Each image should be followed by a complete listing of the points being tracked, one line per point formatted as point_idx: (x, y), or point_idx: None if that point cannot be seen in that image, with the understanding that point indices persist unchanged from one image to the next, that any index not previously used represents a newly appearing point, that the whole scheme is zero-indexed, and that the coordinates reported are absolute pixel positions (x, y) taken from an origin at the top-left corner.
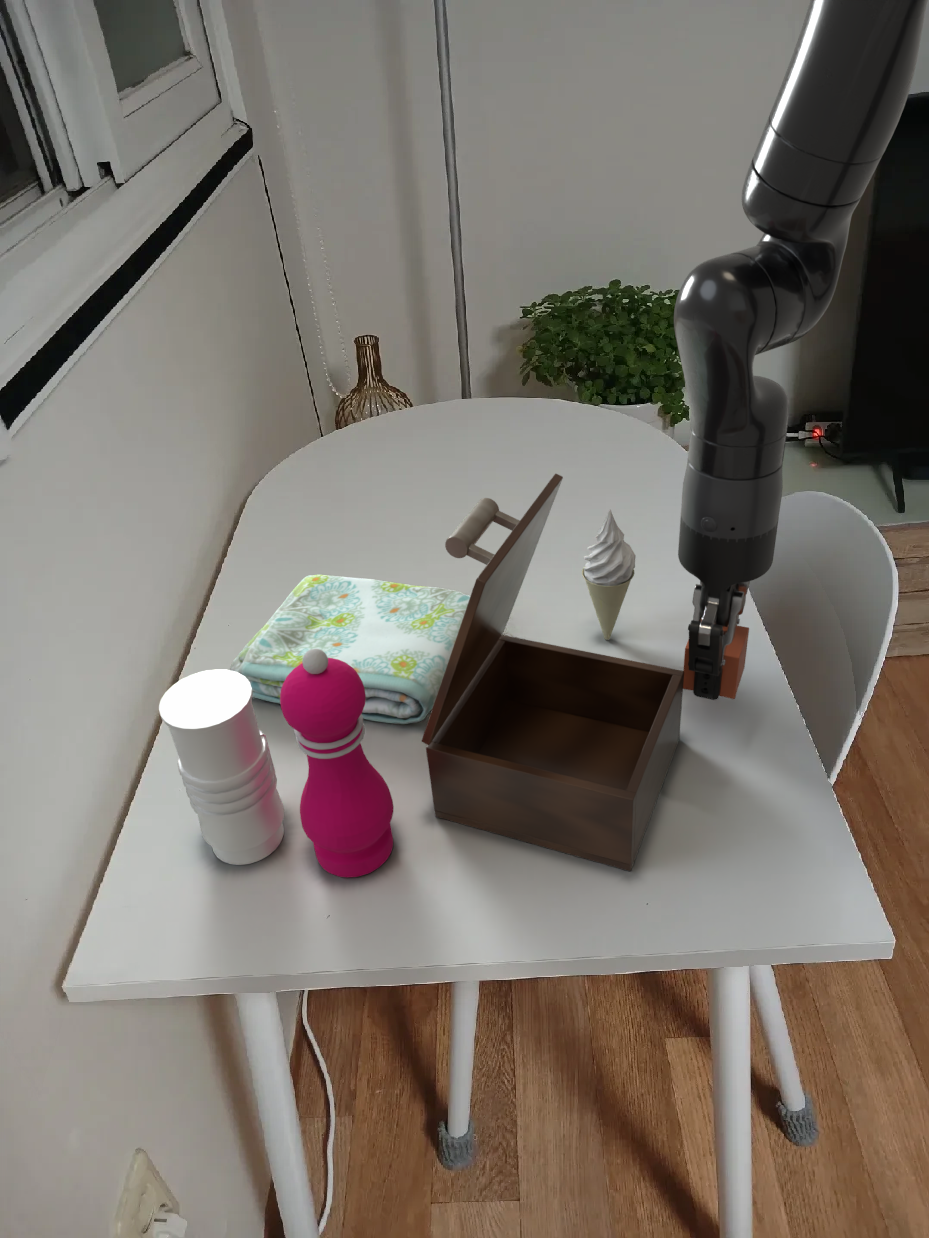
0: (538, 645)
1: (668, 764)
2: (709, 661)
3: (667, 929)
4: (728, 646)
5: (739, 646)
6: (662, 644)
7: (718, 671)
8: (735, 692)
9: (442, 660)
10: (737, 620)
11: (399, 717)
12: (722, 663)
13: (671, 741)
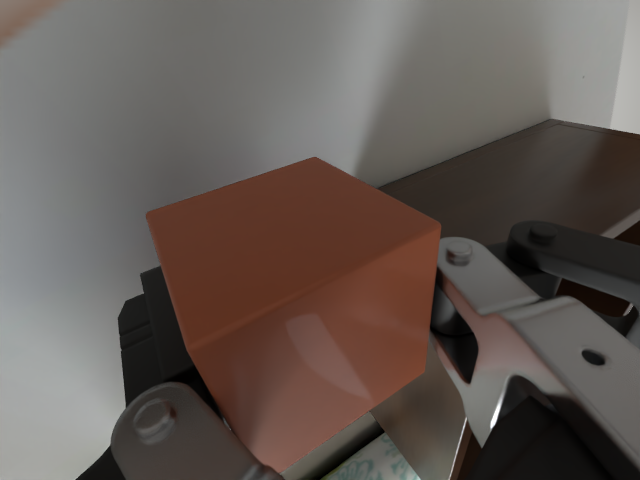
0: (456, 475)
1: (422, 178)
2: (557, 279)
3: (610, 36)
4: (386, 301)
5: (372, 271)
6: (79, 416)
7: (560, 228)
8: (327, 163)
9: (404, 475)
10: (170, 425)
11: None
12: (484, 249)
13: (449, 198)
